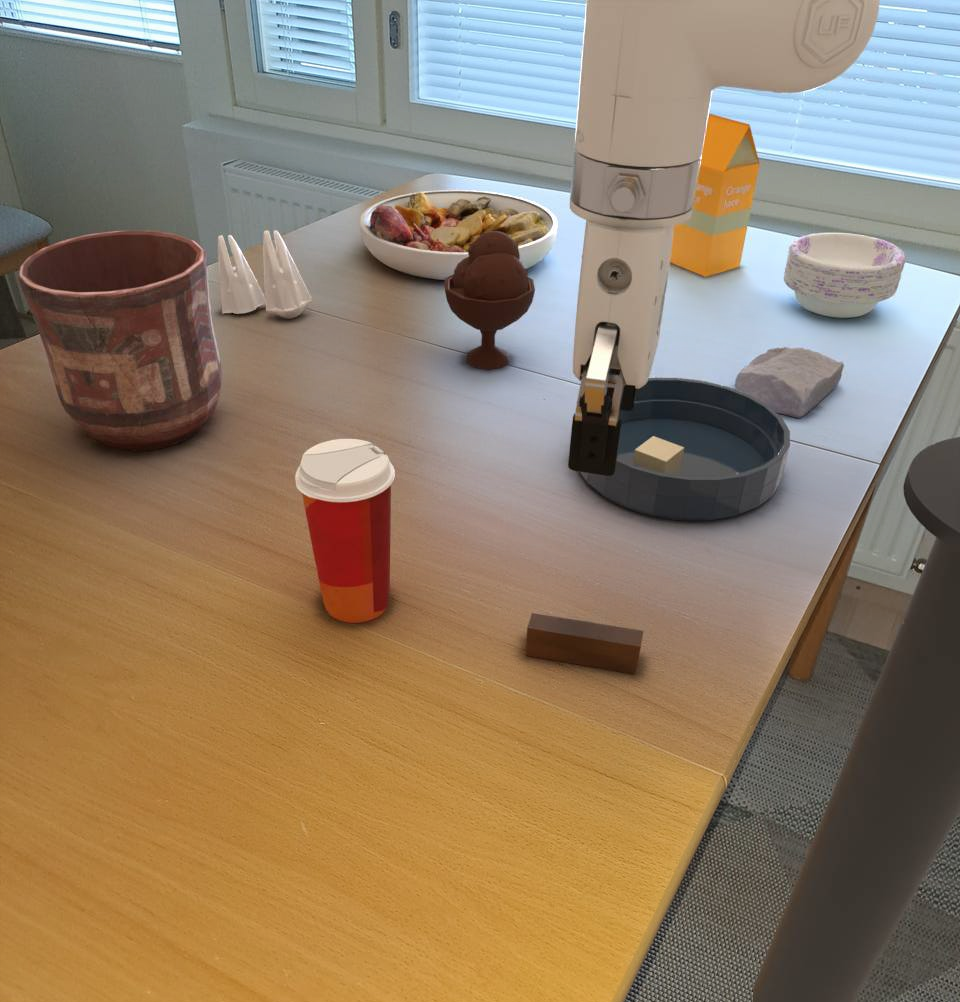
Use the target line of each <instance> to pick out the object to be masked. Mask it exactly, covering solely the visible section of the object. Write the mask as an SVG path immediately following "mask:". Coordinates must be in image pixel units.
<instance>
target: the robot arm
mask: <svg viewBox="0 0 960 1002" xmlns="http://www.w3.org/2000/svg"><path fill="white" fill-rule="evenodd" d="M879 11H880V0H586V1H585V13H584V29H583V38H582V49H581V63H580V75H579V76H580V77H579V87H578V101H577V111H576V124H575V125H576V126H575V136H574V137H575V138H574V148H573V150H574V151H573V161H572V172H571V185H570V194H569V209H570V211H571V212H572V213H573V214H574V215H575V216H577V217H579V218H581V219H582V220H585V226H584V236H583V244H582V245H583V246H582V253H581V264H580V265H581V266H580V271H579V283H578V294H577V303H576V313H575V327H574V339H573V352H572V353H573V355H572V373H573V375H574V376H575V378H576V379H577V380H579V382H580V384H579V389H578V394H577V395H578V396H577V401H576V405H575V411H574V413H573V416H572V421H571V422H572V423H571V430H570V431H571V433H570V441H569V450H568V451H569V454H568V463H567V466H568V469H570V470H571V471H573V472H579V473H580V472H585V473H592V474H598V475H605V476H612V475H613V474H614V472H615V469H616V462H617V455H618V447H619V440H620V433H621V425H622V420H618V416H619V411H620V410H624V411H631V410H632V409H633V407H634V402H635V395H636V388H637V389H639V388H641V387H643V386H644V385H645V384H646V383H647V381H648V378H650V374H651V371H652V368H653V365H654V361H655V357H656V354H657V350H658V347H659V341H660V336H661V327H662V321H663V311H664V305H665V298H666V291H667V286H668V279H669V273H670V266H671V263H670V258H671V250H672V241H673V230H674V226H676V225H679V224H682V223H684V222H685V221H688V220H689V219H690V218H691V216H692V212H693V204H694V198H695V192H696V186H697V180H698V174H699V168H700V162H701V156H702V150H703V144H704V138H705V132H706V126H707V120H708V114H710V108H711V101H712V97H713V96H712V95H713V91H714V90H716V89H717V88H720V87H725V88H734V89H743V90H751V91H758V92H765V93H772V94H782V95H783V94H784V95H785V94H786V95H789V94H799V93H805V92H809V91H813V90H815V89H818V88H821V87H823V86H825V85H827V84H829V83H831V82H832V81H834V80H836V79H837V78H838V77H840V76H842V75H843V74H844V73H845V72H846V71H848V69H850V68H851V67H852V66H853V64H854V63H856V61H857V60H858V59H859V58H860V56H861V55H862V53H863V52H864V51H865V49H866V47H867V46H868V44H869V42H870V40H871V38H872V35H873V33H874V31H875V27H876V24H877V21H878V17H879V16H878V15H879Z"/></svg>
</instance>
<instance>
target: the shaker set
mask: <svg viewBox="0 0 960 1002" xmlns="http://www.w3.org/2000/svg"><path fill="white" fill-rule="evenodd" d="M273 237H274V243H275V247H274V243H273V241H272V237H271V235H270V231H269V230H267V229H266V230H264V231H263V237H262V238H263V241H262V243H263V244H262V258H263V259H262V260H263V284H264V286H263V287H264V292H263V289H262V288H261V285H260V283H259V282H258V280H257V278H256V277H255V274H254V272H253V271H252V268H251V267H250V264H249V263H248V260H246V258H245V256H244V254H243V252H242V250H241V248H240V246H239V245H238V243H237V242H236V240H235V239H234V237H233V235H231V234H228V235H227V241H228V245H229V248H230V251H231V255H232V258H233V262H234V266H233V265H232V262H231V258H230V254H229V252H228V251H229V250H228V248H227V244H226V242H225V239H224V236H223V234H221V235H218V236H217V260H218V261H217V263H218V278H219V288H220V291H219V293H220V303H221V313H222V314H232V313H233V314H235V315H236V314H237V315H239V314H246V313H251V312H253V311H255V310H257V308H258V307H260V306H263V305H265V312H266V313H269V314H270V313H271V314H274V315H276V316H279V317H281V318H282V319H293V318H296V317H298V316H300V315H301V314H302V313H303V312H305V310H306V309H307V307H308V306H309V305H310V304H311V303H312V301H313V299H312V296H311V293H310V291H309V290H308V287H307V285H306V284H305V282H304V280H303V277H302V275H301V273H300V271H299V269H298V267H297V265H296V263H295V261H294V259H293V257H292V254H291V253H290V252H289V249H288V247H287V245H286V243H285V241H284V239H283V237H282V236H281V234H280V233H279V231H278V230H276V229H275V230H273Z"/></svg>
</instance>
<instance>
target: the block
mask: <svg viewBox="0 0 960 1002" xmlns="http://www.w3.org/2000/svg"><path fill="white" fill-rule="evenodd" d="M683 452H684V447H682V446H679V445H676V444H674V443H671V442H668V441H665V440H663V439H660V438H657V437H655V436H653V437H651V438H650V439H649V440H647V441H646V442H645V443H643V444H642V445H641V446H639V447H638V448H636V449H635V453H634V460H633V465H636V466H639V467H643V468H646V469H650V470H654V471H657V472H661V473H667V474H674V475H679V474H680V469H681V463H682V458H683Z"/></svg>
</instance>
